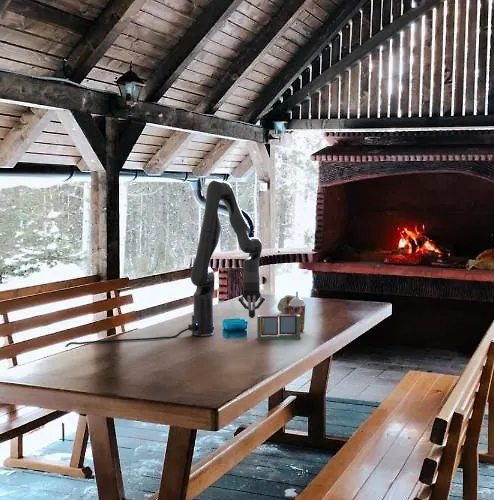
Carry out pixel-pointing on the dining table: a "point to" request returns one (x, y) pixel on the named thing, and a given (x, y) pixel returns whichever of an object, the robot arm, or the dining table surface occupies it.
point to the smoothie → (298, 309)
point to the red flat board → (269, 325)
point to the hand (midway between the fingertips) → (251, 317)
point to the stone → (285, 303)
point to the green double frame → (283, 328)
